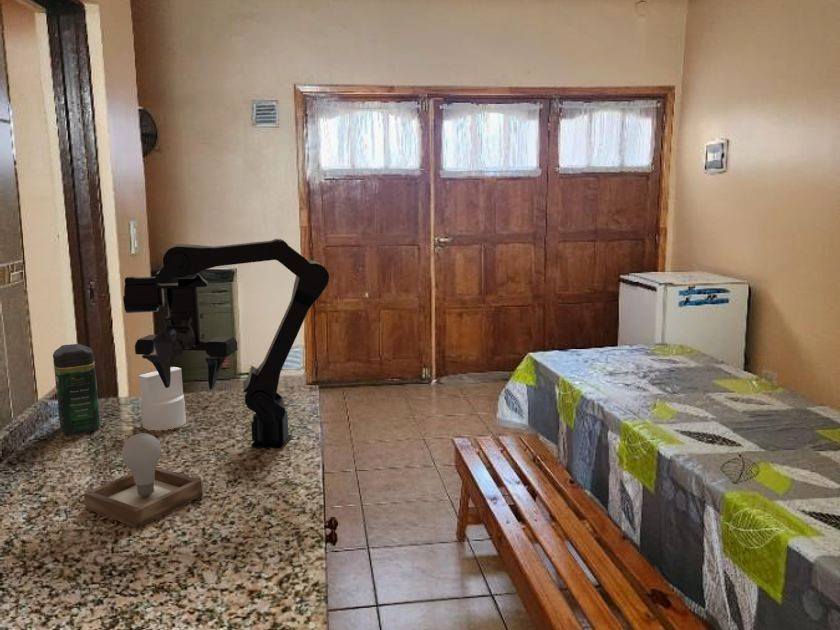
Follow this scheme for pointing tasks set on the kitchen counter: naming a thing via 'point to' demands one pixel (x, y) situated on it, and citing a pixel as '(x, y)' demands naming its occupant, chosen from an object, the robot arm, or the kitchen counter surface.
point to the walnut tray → (138, 510)
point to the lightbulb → (142, 461)
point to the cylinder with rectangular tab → (162, 401)
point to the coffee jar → (76, 389)
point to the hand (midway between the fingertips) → (189, 388)
